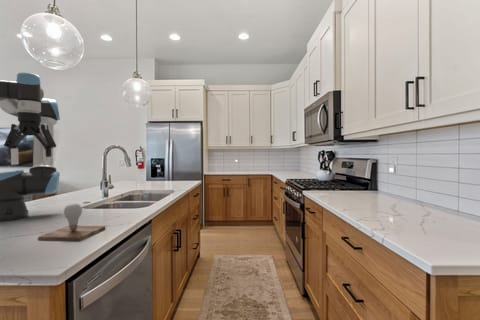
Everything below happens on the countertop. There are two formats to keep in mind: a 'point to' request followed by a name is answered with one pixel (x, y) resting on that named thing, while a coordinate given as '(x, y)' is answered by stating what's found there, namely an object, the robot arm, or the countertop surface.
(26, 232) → the countertop surface
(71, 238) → the plate
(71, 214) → the lightbulb
